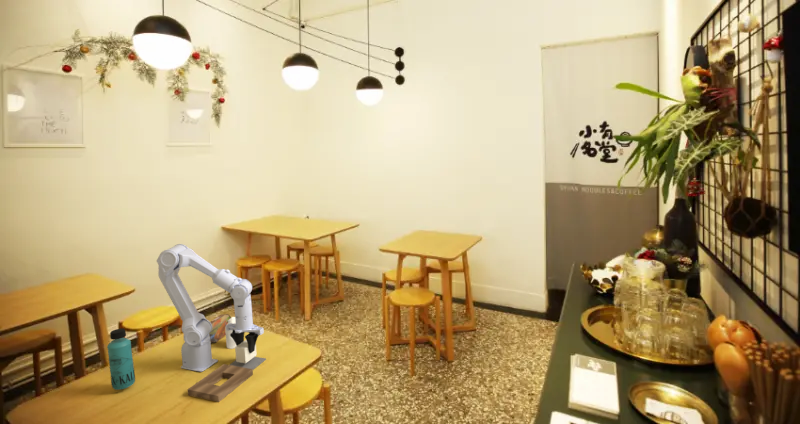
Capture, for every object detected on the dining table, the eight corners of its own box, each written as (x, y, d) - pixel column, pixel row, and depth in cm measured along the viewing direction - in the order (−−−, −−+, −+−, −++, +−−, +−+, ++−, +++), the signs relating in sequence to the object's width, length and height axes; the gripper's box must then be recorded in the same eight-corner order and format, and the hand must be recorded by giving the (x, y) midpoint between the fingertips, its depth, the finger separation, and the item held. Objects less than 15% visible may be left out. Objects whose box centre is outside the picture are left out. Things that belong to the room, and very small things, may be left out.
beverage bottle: (114, 385, 135) (107, 328, 132) (138, 381, 137) (131, 324, 134) (109, 396, 129) (101, 336, 126) (134, 391, 132) (127, 332, 128)
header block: (187, 395, 129) (187, 389, 129) (224, 369, 144) (223, 364, 144) (219, 401, 125) (218, 395, 125) (252, 374, 140) (252, 369, 140)
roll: (233, 312, 164) (243, 314, 161) (235, 340, 166) (245, 343, 163) (220, 318, 158) (231, 320, 156) (223, 347, 160) (233, 350, 158)
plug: (236, 361, 145) (235, 347, 144) (247, 353, 151) (246, 339, 150) (245, 363, 144) (244, 348, 143) (256, 355, 150) (255, 341, 149)
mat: (228, 366, 146) (228, 365, 146) (243, 355, 153) (243, 354, 153) (251, 370, 143) (251, 369, 143) (266, 359, 150) (266, 358, 150)
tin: (210, 346, 161) (208, 326, 160) (203, 345, 162) (201, 325, 161) (233, 329, 176) (231, 311, 175) (226, 329, 176) (225, 310, 175)
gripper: (218, 316, 144) (222, 353, 146) (253, 321, 139) (256, 359, 141) (232, 309, 150) (235, 344, 152) (266, 313, 146) (268, 349, 148)
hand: (246, 350), depth 147 cm, fingers closed on plug, 4 cm apart
